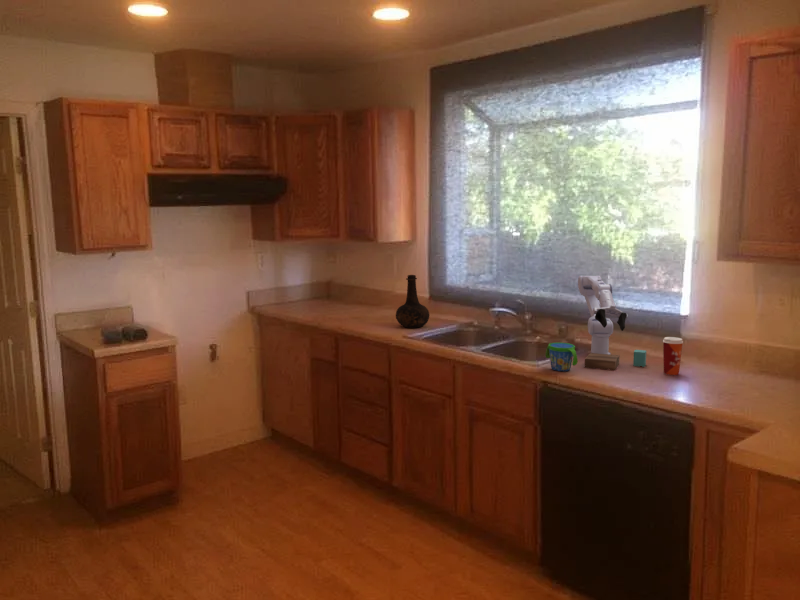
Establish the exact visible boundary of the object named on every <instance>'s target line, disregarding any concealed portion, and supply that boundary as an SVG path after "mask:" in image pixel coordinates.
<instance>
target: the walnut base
mask: <svg viewBox="0 0 800 600" xmlns="http://www.w3.org/2000/svg"><path fill="white" fill-rule="evenodd" d="M619 365H620V354H610V355H609V354H597V353H591V352H590V353H588V355H587V356H586V357H585V358H584V368H586V367H589V368H588V369H596V368H600V370H607V369H610V370H611V371H616V369H618V366H619ZM610 370H609V371H610Z"/></svg>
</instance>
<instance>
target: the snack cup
mask: <svg viewBox="0 0 800 600" xmlns="http://www.w3.org/2000/svg"><path fill="white" fill-rule="evenodd" d="M575 349H576V346H575V345H574V344H572V343H568V342H549V343H548V345H547V347H546V350H545V358H546V359H549V361H550V367H551V370H554V371H558V372H568V371H570V370H571V366H576V365H577V364H578V355H577V351H576V350H575Z"/></svg>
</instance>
